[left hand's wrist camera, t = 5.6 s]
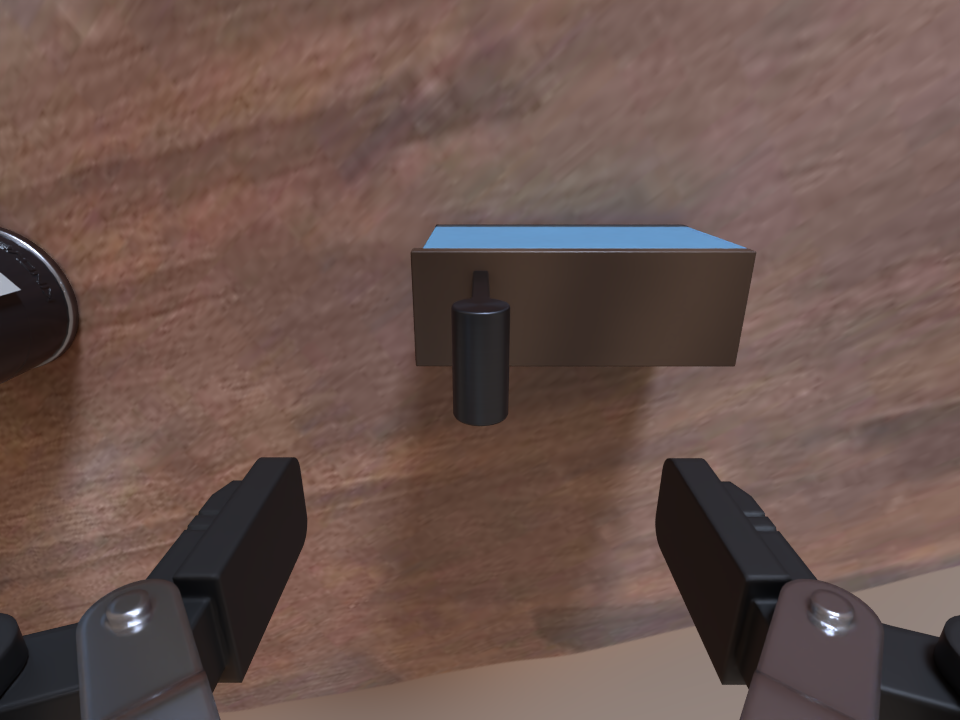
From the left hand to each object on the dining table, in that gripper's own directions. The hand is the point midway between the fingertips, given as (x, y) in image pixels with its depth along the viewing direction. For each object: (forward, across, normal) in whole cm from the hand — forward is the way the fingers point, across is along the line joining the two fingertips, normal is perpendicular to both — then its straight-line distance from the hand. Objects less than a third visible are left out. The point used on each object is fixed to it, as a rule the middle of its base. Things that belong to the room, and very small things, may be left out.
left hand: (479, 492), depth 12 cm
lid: (+15, -5, 0) cm, 16 cm away
